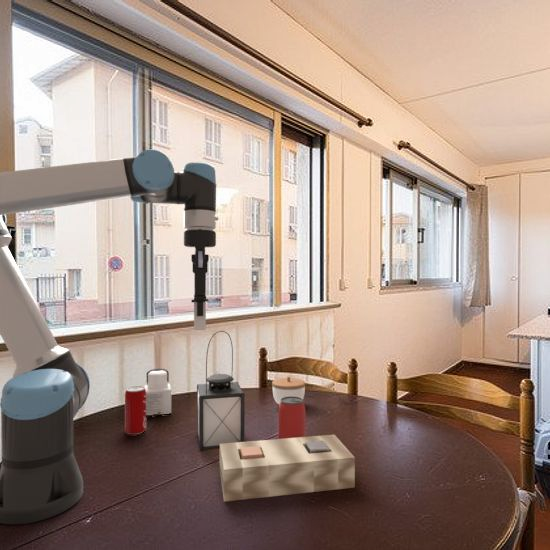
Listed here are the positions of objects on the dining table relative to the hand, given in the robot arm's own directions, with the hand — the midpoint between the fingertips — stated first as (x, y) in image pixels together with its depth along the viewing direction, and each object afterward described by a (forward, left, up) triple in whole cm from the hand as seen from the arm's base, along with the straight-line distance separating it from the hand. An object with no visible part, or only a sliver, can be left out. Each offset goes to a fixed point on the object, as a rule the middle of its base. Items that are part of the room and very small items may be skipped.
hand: (199, 329), depth 98 cm
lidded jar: (+29, +30, -30) cm, 51 cm away
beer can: (+22, -2, -30) cm, 37 cm away
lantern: (+5, +7, -30) cm, 31 cm away
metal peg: (+24, -16, -29) cm, 41 cm away
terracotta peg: (+10, -16, -29) cm, 35 cm away
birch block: (+17, -16, -29) cm, 38 cm away
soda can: (-17, +17, -30) cm, 38 cm away
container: (-12, +32, -30) cm, 46 cm away
